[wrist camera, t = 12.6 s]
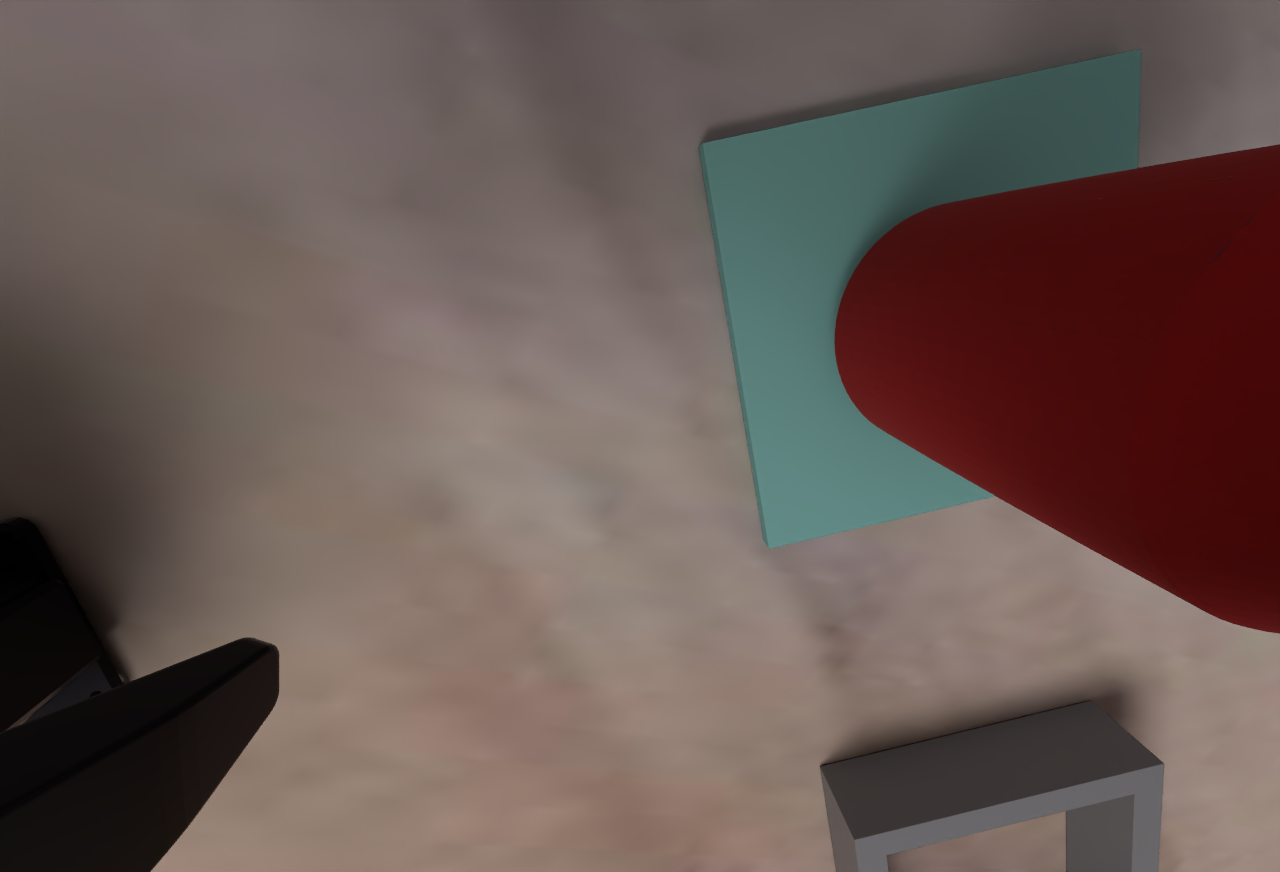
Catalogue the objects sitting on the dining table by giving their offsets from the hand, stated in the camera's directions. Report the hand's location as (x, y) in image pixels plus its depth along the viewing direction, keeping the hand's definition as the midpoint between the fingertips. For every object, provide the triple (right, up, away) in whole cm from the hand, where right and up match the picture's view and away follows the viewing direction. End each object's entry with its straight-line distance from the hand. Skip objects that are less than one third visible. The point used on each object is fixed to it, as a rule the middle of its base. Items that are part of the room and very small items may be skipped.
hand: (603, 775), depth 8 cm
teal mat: (+9, +8, +11) cm, 16 cm away
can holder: (+13, -12, +17) cm, 24 cm away
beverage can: (+9, +8, +10) cm, 16 cm away
